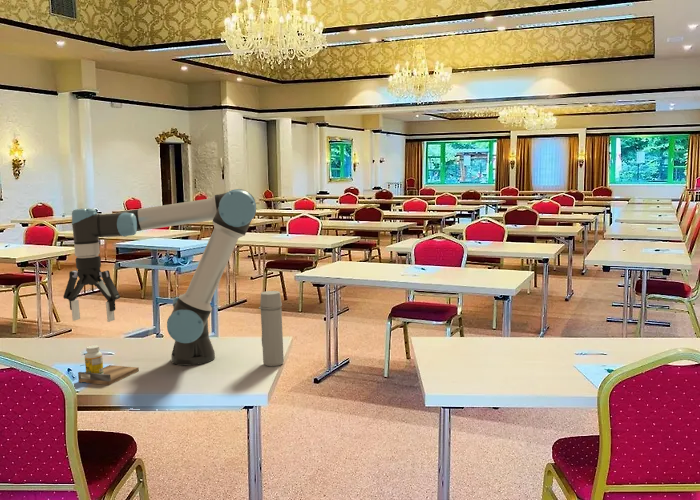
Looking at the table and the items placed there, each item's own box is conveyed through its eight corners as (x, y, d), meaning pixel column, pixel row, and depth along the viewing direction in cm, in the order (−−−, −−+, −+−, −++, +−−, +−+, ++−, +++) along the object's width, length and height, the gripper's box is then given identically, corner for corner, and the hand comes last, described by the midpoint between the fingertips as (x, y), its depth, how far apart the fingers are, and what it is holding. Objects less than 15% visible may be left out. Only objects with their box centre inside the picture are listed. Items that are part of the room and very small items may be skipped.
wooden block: (138, 371, 222) (138, 361, 222) (108, 385, 208) (108, 375, 208) (109, 368, 226) (108, 359, 226) (78, 382, 212) (77, 372, 212)
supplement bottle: (105, 375, 214) (103, 347, 213) (88, 378, 211) (85, 349, 210) (101, 371, 219) (99, 343, 217) (84, 374, 216) (82, 346, 215)
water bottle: (289, 363, 226) (286, 292, 223) (271, 368, 220) (268, 295, 217) (272, 358, 232) (268, 289, 229) (254, 363, 227) (251, 292, 224)
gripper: (127, 254, 212) (133, 318, 215) (64, 254, 219) (70, 316, 222) (112, 257, 205) (118, 324, 208) (47, 257, 212) (54, 321, 215)
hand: (93, 320), depth 215 cm, fingers open, 13 cm apart
